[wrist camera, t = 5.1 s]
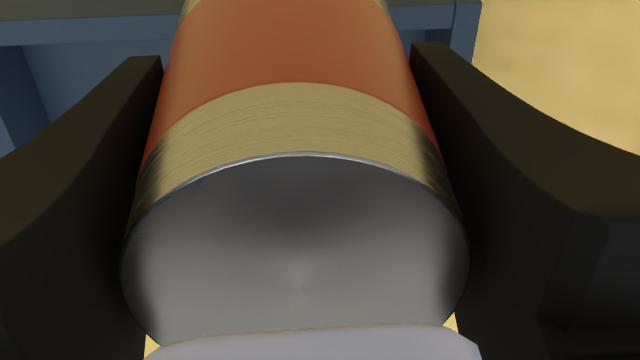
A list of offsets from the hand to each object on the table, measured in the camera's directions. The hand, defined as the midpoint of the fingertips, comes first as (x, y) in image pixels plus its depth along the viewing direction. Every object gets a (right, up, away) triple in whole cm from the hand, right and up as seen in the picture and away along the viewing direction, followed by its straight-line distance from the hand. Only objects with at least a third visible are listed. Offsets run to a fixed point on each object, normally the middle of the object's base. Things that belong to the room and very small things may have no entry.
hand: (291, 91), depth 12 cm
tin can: (0, +1, +1) cm, 2 cm away
